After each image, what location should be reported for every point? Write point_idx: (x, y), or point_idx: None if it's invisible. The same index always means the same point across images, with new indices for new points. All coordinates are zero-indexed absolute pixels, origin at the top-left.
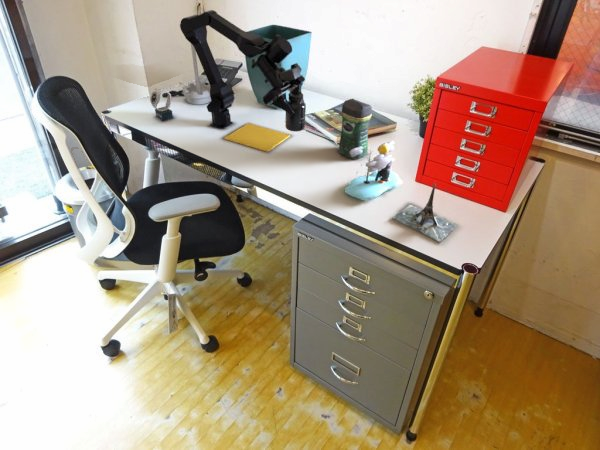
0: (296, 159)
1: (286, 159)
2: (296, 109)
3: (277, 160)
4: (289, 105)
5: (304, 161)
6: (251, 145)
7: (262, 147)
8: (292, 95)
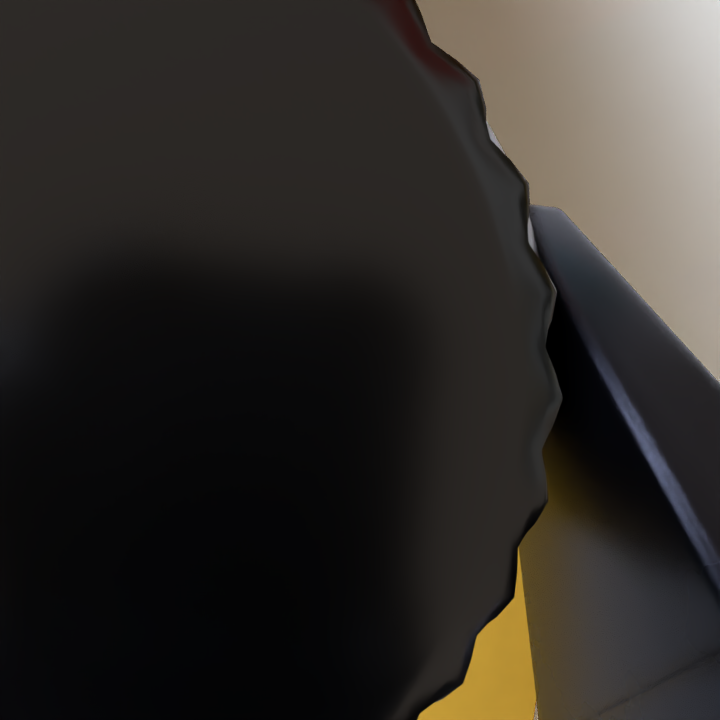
0: (587, 123)
1: (629, 223)
2: (502, 150)
3: (685, 299)
4: (663, 389)
5: (593, 19)
6: (529, 679)
7: (519, 562)
8: (386, 527)
